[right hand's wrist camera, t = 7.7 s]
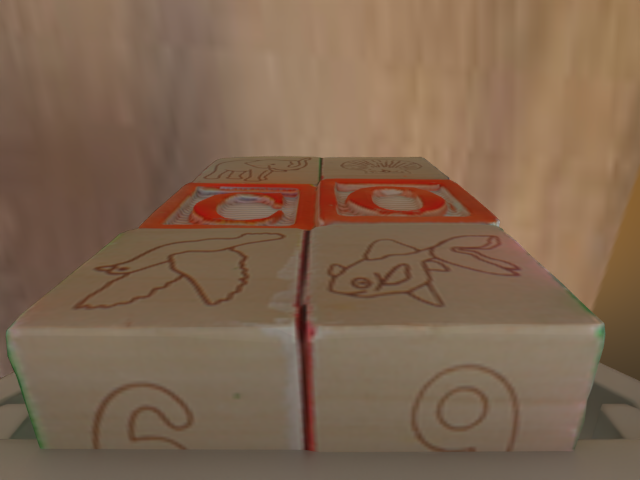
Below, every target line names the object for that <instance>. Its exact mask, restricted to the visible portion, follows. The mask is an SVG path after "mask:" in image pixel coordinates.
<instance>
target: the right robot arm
mask: <svg viewBox="0 0 640 480" xmlns="http://www.w3.org/2000/svg"><path fill="white" fill-rule="evenodd" d="M0 480H640V381H638V380H636V379H634V378H631V377H629V376H627V375H625V374H623V373H621V372H618V371H616V370H614V369H612V368H610V367H608V366H605V365H603V364H601V363H599V364H598V367H597V371H596V375H595V378H594V382H593V386H592V389H591V392H590V394H589V397H588V399H587V405H586V413H585V421H584V424H583V427H582V430H581V433H580V435H579V438H578V441H577V444H576V447H575V450H574V451H532V452H315V451H309V450H170V449H41V448H40V447H39V444H38V441H37V438H36V435H35V432H34V429H33V426H32V423H31V420H30V417H29V414H28V411H27V408H26V405H25V402H24V399H23V395H22V392H21V389H20V386H19V383H18V380H17V377H16V374H15V372H13V373H11V374H9V375H7V376H5V377H2V378H0Z"/></svg>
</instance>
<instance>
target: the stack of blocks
mask: <svg viewBox="0 0 640 480" xmlns="http://www.w3.org/2000/svg"><path fill="white" fill-rule="evenodd" d="M499 222H500V220H499V219H498V218H497V217H496V216H495V215H494V214H493V213H491V212H490V211H489V210H488V209H487V208H486V207H484V206H483V205H482V204H481V203H480V202H479V201H478V200H476V199H475V198H474V197H473V196H472V195H470V194H469V193H468V192H467V191H465V190H464V189H463V188H462V187H461V186H459V185H458V184H457V183H456V182H453V181H451V180H450V179H449V177H447V176H446V175H445V174H443V173H442V172H441V171H439V170H438V169H437V168H436V167H435V166H433V165H432V164H431V163H429V162H428V161H427V160H426V159H425V158H422V157H328V158H318V157H286V156H278V157H237V158H222V159H219V160H216V161H215V162H213V163H212V164H211V165H210V166H208V167H207V168H206V169H205V170H204V171H203V172H202V173H201V174H200V175H199V176H198V177H197V178H196V179H195V180H194V181H193V182H192V183H188V184H186V185H184V186H183V187H182V188H181V189H180V190H179V191H178V192H176V193H175V194H174V195H173V196H172V197H171V198H169V199H168V200H167V201H166V202H165V203H164V204H163V205H161V206H160V207H159V208H158V209H157V210H156V211H154V212H153V213H152V214H151V215H150V216H149V217H148V218H147V219H146V220H145V221H144V222H143V223H142V224H141V225H140V226H139V228H138V229H134V230H129V231H126V232H123V233H120V234H119V235H118V236H117V237H116V238H115V239H113V240H112V241H111V242H110V243H109V244H107V245H106V246H105V247H104V248H102V249H101V250H100V251H99V252H98V253H97V254H95V255H94V256H93V257H92V258H90V259H89V260H88V261H87V262H85V263H84V264H83V265H81V266H80V267H79V268H78V269H76V270H75V271H74V272H73V273H72V274H70V275H69V276H68V277H67V278H66V279H64V280H63V281H62V282H61V283H60V284H58V285H57V286H56V287H55V288H53V289H52V290H51V291H50V292H48V293H47V294H46V295H45V296H43V297H42V298H41V299H40V300H38V301H37V302H36V303H35V304H33V305H32V306H31V307H30V308H28V309H27V310H26V311H25V312H23V313H22V314H21V315H20V316H19V317H18V318H17V319H16V321H15V322H14V323H13V324H12V325H11V326H10V327H9V328H8V329H7V331H6V344H7V354H8V358H9V360H10V363H11V365H12V367H13V370H14V372H15V374H16V377H17V380H18V383H19V386H20V389H21V392H22V395H23V399H24V402H25V405H26V408H27V411H28V414H29V417H30V420H31V423H32V426H33V429H34V432H35V435H36V438H37V441H38V444H39V447H40V448H41V449H170V450H309V451H315V452H532V451H574V450H575V447H576V444H577V441H578V438H579V435H580V433H581V430H582V427H583V424H584V421H585V413H586V405H587V399H588V397H589V394H590V392H591V389H592V386H593V382H594V378H595V375H596V371H597V367H598V364H599V360H600V357H601V353H602V350H603V347H604V340H605V326H604V323H603V322H602V321H601V320H600V319H599V318H598V317H597V316H596V315H594V314H593V313H592V312H591V311H590V310H589V309H588V308H587V307H586V306H585V305H584V304H583V303H582V302H581V301H580V300H579V299H578V298H576V297H575V296H574V295H573V294H572V293H571V292H570V291H569V290H568V289H567V288H566V287H565V286H564V285H563V284H562V283H561V282H560V281H559V280H558V279H556V278H555V277H554V276H553V275H552V274H551V273H550V272H549V271H548V270H547V269H545V268H544V267H543V266H542V265H541V264H540V263H539V262H538V261H536V260H535V259H534V258H533V257H532V256H531V255H530V254H529V253H528V252H527V251H526V250H525V249H524V248H523V247H522V246H521V245H520V244H519V243H518V242H516V241H515V240H514V239H513V238H512V237H511V236H509V235H508V234H506V233H505V232H504V231H503V229H501V228H500V227H499Z"/></svg>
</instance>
